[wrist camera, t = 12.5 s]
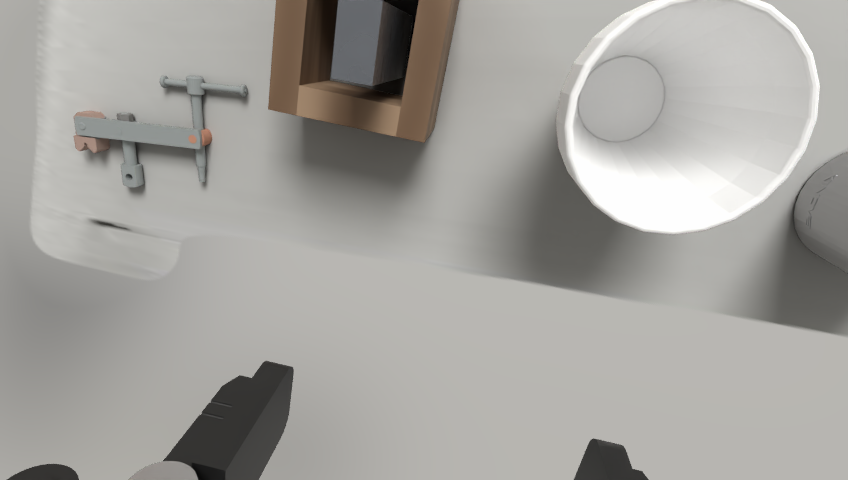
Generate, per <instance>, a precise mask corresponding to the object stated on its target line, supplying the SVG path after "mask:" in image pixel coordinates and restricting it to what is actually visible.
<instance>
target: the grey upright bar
mask: <svg viewBox="0 0 848 480" xmlns="http://www.w3.org/2000/svg"><path fill="white" fill-rule="evenodd" d="M412 22H413V16H411V15H409V14H407V13H405V12H404V11H402V10H400V9H398V8H396V7H394V6H392V5H390V4H388V3H387V2H385V1H382V0H338V8H337V18H336V29H335V39H334V50H333V60H332V71H331V78H332V79H337V80H343V81H348V82H353V83H359V84H364V85H369V86H374V85H378V84H381V83H385V82H388V81H392V80H395V79H399V78H402V77H404V76H405V69H406V62H407V56H408V49H409V42H410V35H411V29H412Z"/></svg>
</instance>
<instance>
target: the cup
mask: <svg viewBox="0 0 848 480" xmlns="http://www.w3.org/2000/svg"><path fill="white" fill-rule="evenodd" d="M819 88H820V84H819V80H818V75H817V71H816V66H815V61H814V57H813V53H812V51H811V50H810V48H809V46H808V45H807V43H806V41H805V40H804V38H803V36H802V35H801V33H800V31H799V30H798V28H797V26H796V25H794V24H793V23H792V22H791V21H790V20H788V19H787V18H786V17H785V16H784V15H782V14H781V13H780V12H779V11H778V10H776V9H775V8H774V7H773V6H772V5H770V4H767V3H765V2H762V1H760V0H656V1H651V2H648V3H646V4H644V5H642V6H640V7H637V8H635V9H633V10H631V11H629V12H627V13H625V14H623V15H621V16H619V17H618V18H616V19H615V20H614V21H613V22H611V23H610V24H609V25H608V26H607V27H605V28H604V29H603V30H602V31H600V32H599V33H598V34H597V35H595V36H594V37H593V38H592V40H591V41H590V42H589V43H588V45H587V46H586V47H585V49H584V50H583V51H582V53H581V54H580V55H579V56H578V58H577V59H576V60H575V62H574V63H573V65H572V67H571V70H570V72H569V74H568V76H567V79H566V81H565V83H564V85H563V88H562V90H561V93H560V99H559V105H558V110H557V116H556V128H557V139H558V148H559V151H560V153H561V156H562V159H563V161H564V164H565V166H566V169H567V172H568V173H569V174H570V176H571V177H572V178H573V180H574V181H575V182H576V184H577V185H578V186H579V188H580V189H581V190H582V191H583V193H584V194H585V195H586V196H587V198H588V199H589V200H590V202H591V203H592V204H593V205H594V206H595V207H597V208H598V209H599V210H601V211H602V212H603V213H605V214H606V215H607V216H609V217H610V218H612V219H613V220H614V221H616V222H618V223H621V224H624V225H626V226H629V227H632V228H634V229H637V230H639V231H642V232H650V233H659V234H668V235H676V234H684V233H692V232H700V231H705V230H708V229H711V228H713V227H716V226H719V225H722V224H725V223H727V222H730V221H733V220H735V219H736V218H738V217H740V216H741V215H743V214H745V213H746V212H748V211H749V210H751V209H753V208H754V207H756V206H758V205H759V204H761V203H762V202H763V201H764V200H765V199H766V198H767V197H768V196H770V195H771V194H772V193H773V192H774V191H775V190H776V189H777V188H778V187H779V186H780V185H781V184H782V183H783V182H784V181H785V180H786V179H787V178H788V176H789V175H790V173H791V172H792V170H793V169H794V167H795V166H796V164H797V163H798V161H799V160H800V158H801V157H802V155H803V154H804V152H805V150H806V148H807V145H808V142H809V139H810V137H811V134H812V131H813V128H814V126H815V123H816V120H817V113H818V101H819Z"/></svg>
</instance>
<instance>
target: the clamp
mask: <svg viewBox="0 0 848 480" xmlns="http://www.w3.org/2000/svg"><path fill="white" fill-rule="evenodd" d="M160 84H161V86H162V87H163V88H167V87H168V85H169V86H178V87H187V93H188V94H191V102H192V115H193V128H194V129H189V128H181V127H172V126H163V125H155V124H146V123H138V122H137V121H134V118H133V114H131V113H118V114H117V119H118V120H111V119H106V117H105V116H104V115H103V114H102V113H101V112H94V111H84V112H78V113H76V114H75V116H74V123H75V129H76V135H75V136H74V141H75V147H76V149H77V150H78V151H83V150H87V149H90V150H91V151H92V152H93V153H97V152H101V151H105V150H108V149H109V148H110V143H109V139H116V140H122V147H123V154H124V162H125V163H122V164H121V172H122V180H123V185H124V186H127V187H138V186H141V185H143V184H144V179H143V170H142V164H137V155H136V147H135V142H142V143H150V144H159V145H167V146H176V147H184V148H193V149H195V154H196V166H197V167H198V172H199V181H200V182H205V181H206V179H205V166H206V156H205V145H208V144H210V143H211V141H212V135H211V132H210V131H209V130H208V129H204V127H203V112H202V97H201V95H204V94H205V91H204V89H205V90H214V91H223V92H232V93H240V94H241V96H243V97H245V96H246V95H247V92H248V89H247V86H246V85H245V84H242V85H241V86H240V87H238V86H229V85H220V84H211V83H204V78H203V77H201V76H187V77H186V81H183V80H174V79H168V77H167V76H161V78H160Z"/></svg>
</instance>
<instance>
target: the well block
mask: <svg viewBox="0 0 848 480" xmlns="http://www.w3.org/2000/svg"><path fill="white" fill-rule="evenodd" d="M458 4H459V0H419V2H418V8H417V14H416V19H415V25H414V31H413V37H412V43H411V49H410V55H409V61H408V67H407V73H406V79H405V85H404V91H403V96H402V95H397V94H392V93H387V92H383V91H378V90H373V89H368V88H364V87H359V86H354V85H349V84H345V83H340V82H335V81H330V72H331V63H332V54H333V46H334V37H335V28H336V18H337V8H338V0H276V9H275V23H274V37H273V51H272V65H271V78H270V92H269V106H268V109H269V110H274V111H278V112H283V113H288V114H292V115H297V116H302V117H306V118H311V119H316V120H320V121H325V122H330V123H335V124H339V125H344V126H349V127H353V128H358V129H363V130H367V131H372V132H377V133H381V134H386V135H391V136H395V137H400V138H405V139H409V140H414V141H419V142H423V143H425V141H426V140H427V138H428V137H429V135H430V134H431V132H432V131H433V129H434V127H435V122H436V116H437V111H438V106H439V101H440V96H441V91H442V86H443V81H444V76H445V71H446V66H447V60H448V55H449V50H450V45H451V40H452V35H453V30H454V25H455V20H456V15H457V10H458Z"/></svg>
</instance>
